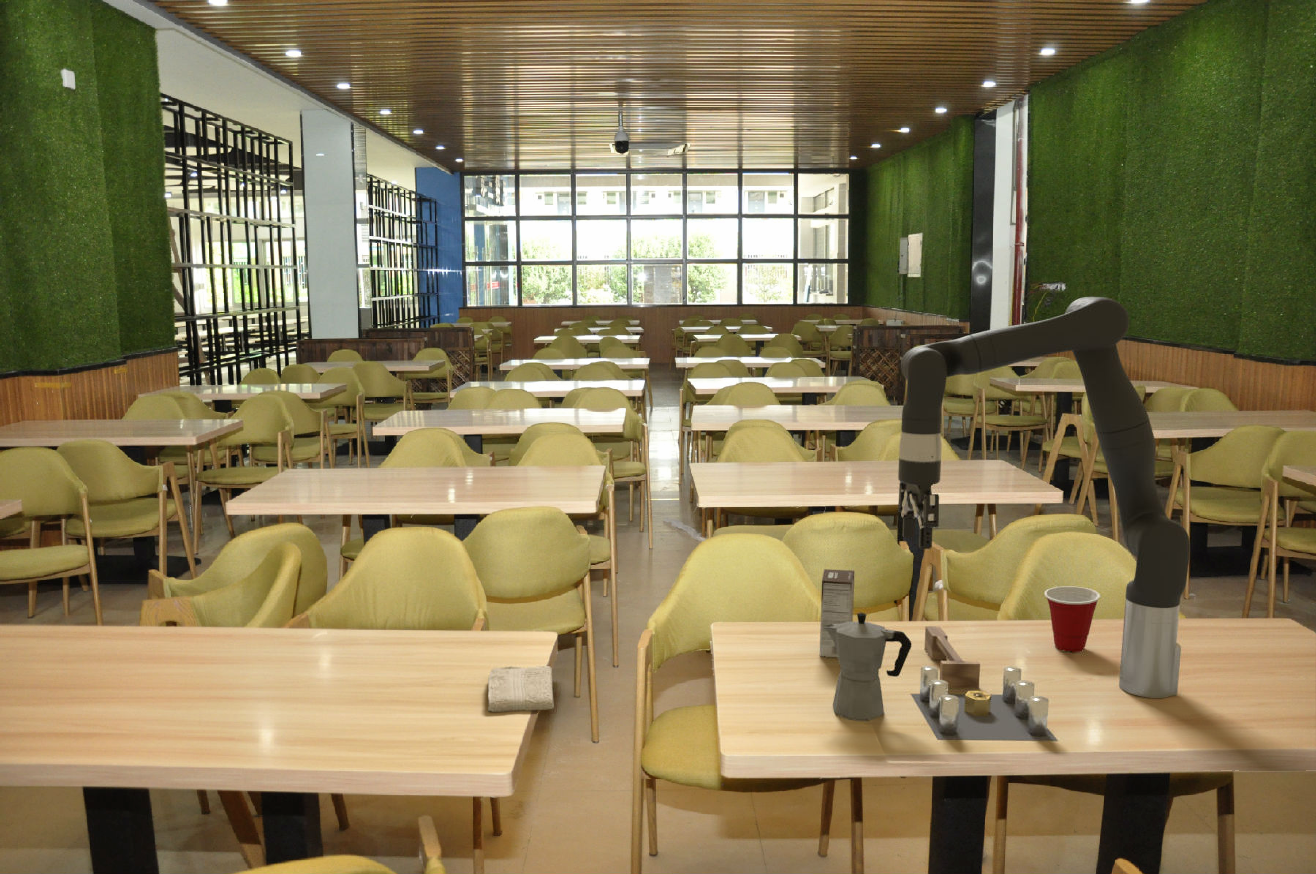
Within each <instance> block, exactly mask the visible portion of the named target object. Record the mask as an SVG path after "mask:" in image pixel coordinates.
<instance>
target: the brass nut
mask: <svg viewBox="0 0 1316 874" xmlns="http://www.w3.org/2000/svg"><path fill="white" fill-rule="evenodd" d="M965 694H966V695H965V707H964V711H965V712H967V713H969V714H971V715H973V716H988V714H989V713H990V709H991V695H989V693H987V692H984V691H982V690H968V691H967V692H966V693H965Z"/></svg>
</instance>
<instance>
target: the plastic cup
mask: <svg viewBox="0 0 1316 874" xmlns="http://www.w3.org/2000/svg"><path fill="white" fill-rule="evenodd" d="M1044 596H1045V598H1046V600H1047V603H1048V605H1049V606H1048V607H1049V613H1050V619H1051V620H1050V621H1051V627H1052V628H1051V629H1052V632H1053V642H1054V646H1055V648H1056V649H1057V648H1058V649H1057V650H1059V651H1063V650H1065V651H1064V652H1067V651H1072V652H1071V653H1079V652H1080V651H1081V652H1083V651H1084V650H1085V648H1086V646H1087V645H1086V644H1087V639H1088V637H1089V635H1090V630H1091V627H1092V622H1093V618H1094V614H1095V610H1096V607H1097V604H1098V601H1099V599H1101V595H1100V593H1099V591H1096V590H1094V589H1090V588H1087V587H1082V586H1075V585H1074V586H1073V585H1071V586H1070V585H1066V586H1065V585H1062V586H1053V587H1051V588H1047V589H1046V590H1045V591H1044ZM1082 650H1083V651H1082Z"/></svg>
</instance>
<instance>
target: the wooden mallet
mask: <svg viewBox="0 0 1316 874" xmlns="http://www.w3.org/2000/svg"><path fill="white" fill-rule="evenodd" d="M924 651H925V652H926V654H927V653H928V654H927V655H928V657H929V659H930V660H931V661H940V662H939V663H940V664H939V666H940V667H939V680H944V681H946V682H948V689H957V688H958V689H979V688H980V673H981V672H980V671H981V664H980V662H979V661H978V660H976V661H975V660H974V661H973V660H963V659H962V657H961V656H960V655H959V653H958V652H957V651H956V650H955V649H954V647H953V646H952V645H951V644H950V642H949V641H948V634H947V633H946V632H945V631H944V630H943V628H942V627H941V626H929V625H927V626H925V631H924Z"/></svg>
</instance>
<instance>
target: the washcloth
mask: <svg viewBox="0 0 1316 874" xmlns="http://www.w3.org/2000/svg"><path fill="white" fill-rule="evenodd" d="M552 669H553V668H552V667H551V666H548V665H540V666H539V665H538V666H534V667H533V666H532V667H521V666H520V667H519V666H504V667H493V668H492V669H491V671H490V672H489V675H488V684H487V685H488V687H487V689H488V693H487V694H488V695H487V696H488V708H487V711H488V712H492V713H499V712H500V713H501V712H502V713H503V712H514V711H515V712H516V711H517V712H518V711H526V712H527V711H529V712H530V711H531V712H532V711H547V710H548V711H549V710H553V709H555V705H554V704H555V703H554V690H553V670H552Z"/></svg>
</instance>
